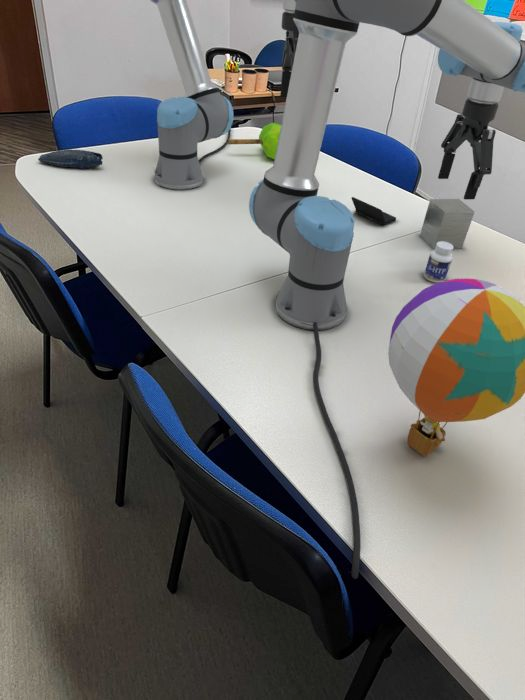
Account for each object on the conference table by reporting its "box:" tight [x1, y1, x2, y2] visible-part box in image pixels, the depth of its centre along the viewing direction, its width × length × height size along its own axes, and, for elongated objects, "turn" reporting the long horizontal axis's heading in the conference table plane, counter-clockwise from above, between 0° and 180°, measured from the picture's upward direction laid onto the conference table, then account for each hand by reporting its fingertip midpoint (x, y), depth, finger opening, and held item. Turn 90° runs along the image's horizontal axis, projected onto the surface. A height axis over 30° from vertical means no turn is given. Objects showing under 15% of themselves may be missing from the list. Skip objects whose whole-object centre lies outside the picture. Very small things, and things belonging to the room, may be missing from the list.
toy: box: [387, 278, 525, 458], centre depth 75 cm, size 20×20×30 cm
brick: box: [419, 198, 475, 251], centre depth 141 cm, size 8×9×11 cm
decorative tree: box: [227, 122, 282, 161], centre depth 186 cm, size 18×10×30 cm
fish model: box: [37, 149, 104, 170], centre depth 166 cm, size 7×21×5 cm, turn 84°
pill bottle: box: [423, 241, 454, 284], centre depth 125 cm, size 5×5×9 cm
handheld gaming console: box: [351, 196, 397, 226], centre depth 151 cm, size 12×7×10 cm
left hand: (289, 103), depth 143 cm, fingers open, 13 cm apart
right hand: (455, 188), depth 135 cm, fingers open, 13 cm apart
